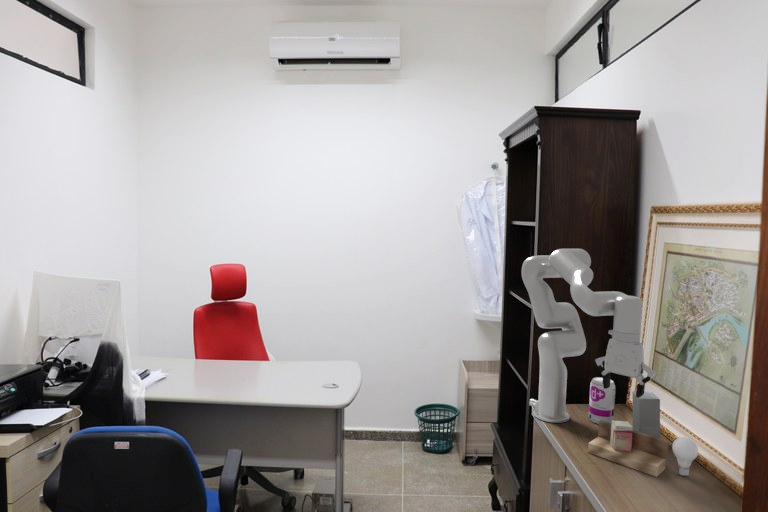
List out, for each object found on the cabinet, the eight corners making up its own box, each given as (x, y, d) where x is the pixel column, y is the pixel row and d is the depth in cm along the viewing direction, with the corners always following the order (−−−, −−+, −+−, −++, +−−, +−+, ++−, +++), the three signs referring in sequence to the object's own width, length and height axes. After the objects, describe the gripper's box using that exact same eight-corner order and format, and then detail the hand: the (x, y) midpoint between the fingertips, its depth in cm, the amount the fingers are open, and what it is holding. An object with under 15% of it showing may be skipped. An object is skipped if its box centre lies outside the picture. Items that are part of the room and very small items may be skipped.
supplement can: (602, 427, 178) (604, 385, 177) (583, 418, 185) (585, 378, 184) (618, 423, 182) (620, 382, 181) (599, 415, 189) (601, 375, 188)
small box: (614, 450, 153) (615, 425, 153) (609, 444, 158) (611, 419, 157) (631, 452, 153) (633, 426, 152) (627, 445, 157) (628, 421, 156)
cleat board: (587, 452, 159) (589, 427, 158) (599, 444, 164) (600, 420, 164) (656, 476, 144) (658, 449, 144) (667, 467, 150) (668, 440, 149)
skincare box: (660, 448, 162) (663, 400, 161) (636, 445, 164) (639, 398, 163) (652, 437, 171) (655, 391, 169) (629, 435, 172) (632, 389, 171)
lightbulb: (666, 469, 148) (668, 433, 148) (688, 470, 148) (690, 433, 147) (677, 481, 142) (680, 442, 141) (701, 481, 142) (703, 443, 141)
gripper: (592, 333, 157) (589, 387, 158) (652, 344, 144) (648, 403, 146) (603, 329, 162) (599, 382, 163) (661, 340, 149) (657, 397, 151)
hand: (622, 392), depth 155 cm, fingers open, 9 cm apart
